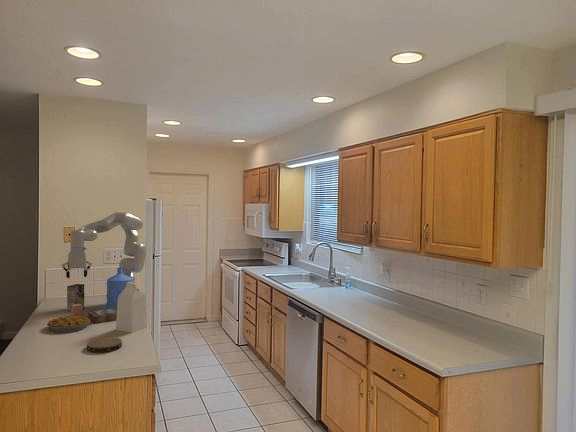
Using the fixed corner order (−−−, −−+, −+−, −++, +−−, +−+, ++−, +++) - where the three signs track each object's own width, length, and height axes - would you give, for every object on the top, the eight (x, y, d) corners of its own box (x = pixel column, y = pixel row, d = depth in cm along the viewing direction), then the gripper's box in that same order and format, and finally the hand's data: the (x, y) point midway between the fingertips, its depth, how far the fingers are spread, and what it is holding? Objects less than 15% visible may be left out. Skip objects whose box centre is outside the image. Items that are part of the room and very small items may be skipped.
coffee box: (76, 307, 294) (76, 283, 293) (84, 308, 292) (84, 284, 292) (66, 310, 285) (66, 286, 284) (75, 311, 283) (75, 286, 283)
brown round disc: (108, 341, 227) (108, 335, 227) (128, 346, 219) (128, 340, 219) (79, 349, 213) (79, 343, 213) (100, 356, 205) (100, 349, 205)
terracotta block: (79, 314, 276) (80, 303, 275) (82, 316, 272) (82, 305, 272) (71, 315, 272) (71, 304, 272) (73, 317, 269) (73, 306, 268)
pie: (96, 328, 249) (96, 319, 248) (55, 336, 233) (55, 326, 232) (80, 320, 264) (81, 312, 263) (41, 327, 248) (41, 318, 247)
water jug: (100, 311, 285) (101, 268, 284) (118, 306, 299) (119, 265, 298) (119, 314, 279) (120, 270, 278) (136, 309, 293) (137, 267, 292)
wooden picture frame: (114, 314, 278) (114, 307, 278) (122, 319, 267) (122, 312, 267) (87, 318, 268) (87, 311, 268) (94, 323, 257) (95, 315, 257)
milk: (146, 327, 251) (147, 282, 251) (131, 332, 241) (132, 285, 240) (131, 324, 256) (131, 280, 256) (115, 329, 246) (116, 283, 245)
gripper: (90, 248, 279) (89, 275, 280) (60, 249, 268) (59, 277, 268) (93, 249, 273) (93, 277, 274) (63, 251, 262) (63, 279, 263)
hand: (76, 277), depth 271 cm, fingers open, 9 cm apart
